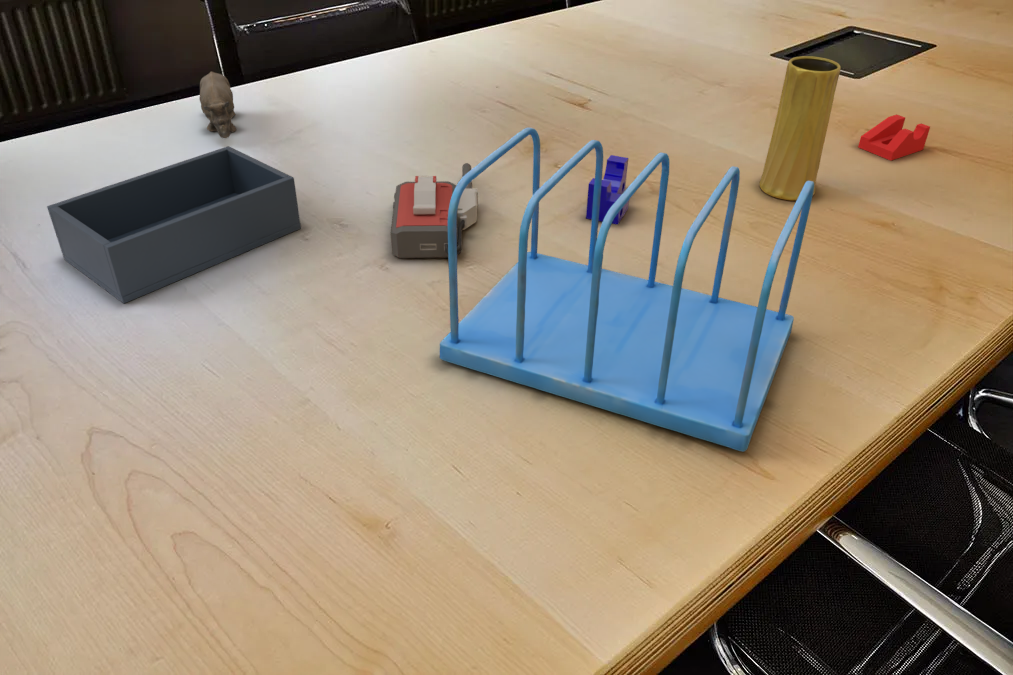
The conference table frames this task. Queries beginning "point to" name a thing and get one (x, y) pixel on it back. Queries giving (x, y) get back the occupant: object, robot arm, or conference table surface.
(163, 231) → the bin
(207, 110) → the rhino figurine
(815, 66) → the vase
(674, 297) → the file sorter
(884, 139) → the bracket
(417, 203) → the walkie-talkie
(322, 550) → the conference table surface
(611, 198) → the cable holder
